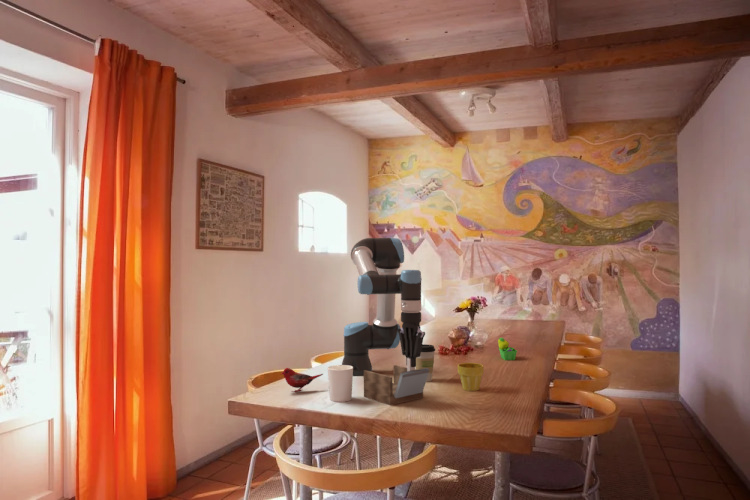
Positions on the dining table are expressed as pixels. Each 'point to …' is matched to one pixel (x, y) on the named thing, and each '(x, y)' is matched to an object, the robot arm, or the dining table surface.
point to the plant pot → (470, 375)
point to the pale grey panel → (411, 382)
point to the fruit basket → (506, 350)
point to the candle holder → (340, 382)
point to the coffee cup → (426, 360)
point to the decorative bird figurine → (297, 379)
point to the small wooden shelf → (385, 387)
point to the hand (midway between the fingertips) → (411, 375)
